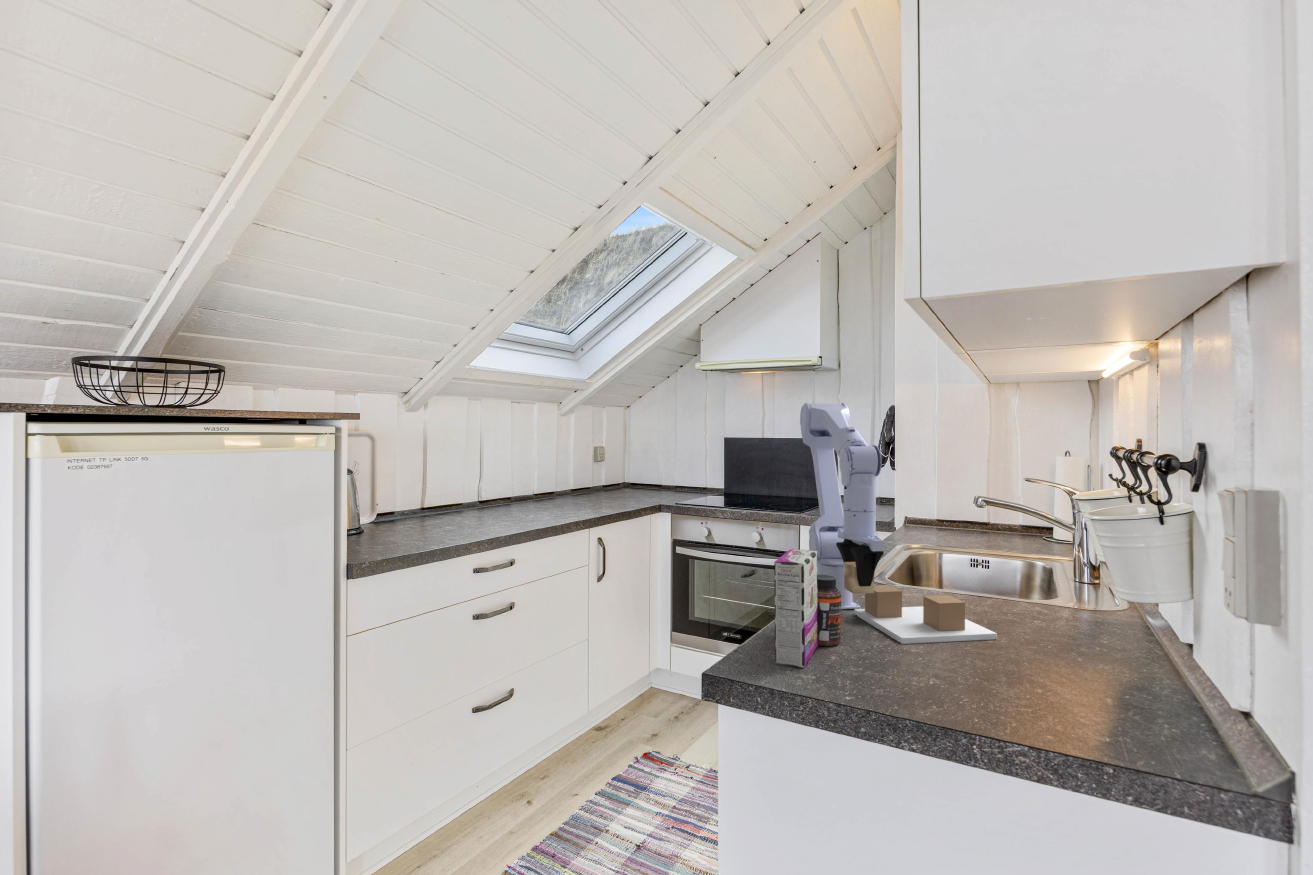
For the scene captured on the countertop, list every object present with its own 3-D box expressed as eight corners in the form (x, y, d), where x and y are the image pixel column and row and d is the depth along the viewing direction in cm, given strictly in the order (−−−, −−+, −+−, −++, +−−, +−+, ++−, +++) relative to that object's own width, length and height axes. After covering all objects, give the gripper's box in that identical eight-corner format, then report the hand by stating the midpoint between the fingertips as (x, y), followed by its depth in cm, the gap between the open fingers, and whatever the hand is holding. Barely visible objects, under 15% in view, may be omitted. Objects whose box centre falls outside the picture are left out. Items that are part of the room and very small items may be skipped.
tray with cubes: (854, 614, 127) (854, 584, 127) (937, 610, 130) (937, 581, 130) (902, 643, 110) (902, 608, 109) (997, 639, 112) (997, 605, 112)
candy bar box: (789, 642, 110) (789, 548, 110) (818, 647, 108) (819, 550, 108) (772, 664, 100) (773, 559, 100) (804, 669, 98) (805, 562, 97)
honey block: (844, 588, 121) (844, 562, 121) (863, 587, 121) (864, 561, 121) (853, 593, 117) (853, 566, 117) (874, 592, 117) (874, 565, 117)
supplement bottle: (833, 649, 106) (833, 582, 106) (799, 642, 110) (800, 577, 110) (846, 640, 111) (846, 576, 111) (814, 634, 115) (814, 571, 115)
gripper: (823, 505, 125) (822, 574, 125) (857, 515, 111) (856, 593, 111) (857, 505, 126) (856, 573, 127) (895, 515, 112) (894, 591, 112)
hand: (859, 582), depth 119 cm, fingers closed on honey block, 4 cm apart
